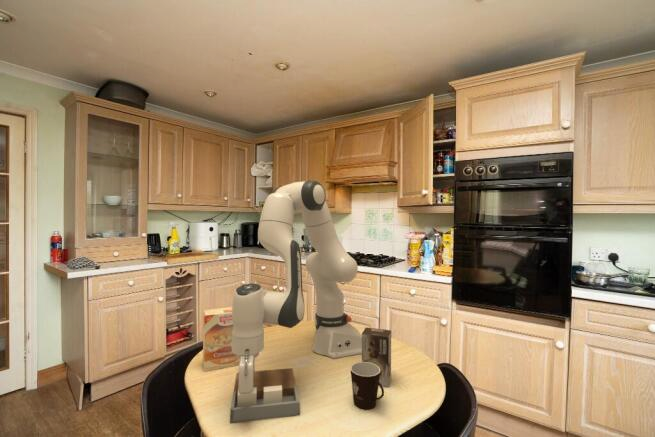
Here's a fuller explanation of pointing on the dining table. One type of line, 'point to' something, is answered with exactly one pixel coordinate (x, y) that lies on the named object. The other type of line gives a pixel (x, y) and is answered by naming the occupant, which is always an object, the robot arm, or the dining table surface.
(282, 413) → the tray
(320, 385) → the dining table surface
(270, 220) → the robot arm
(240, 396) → the tile
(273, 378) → the board
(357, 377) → the coffee mug
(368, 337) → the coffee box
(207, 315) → the coffeecake box
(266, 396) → the tile
